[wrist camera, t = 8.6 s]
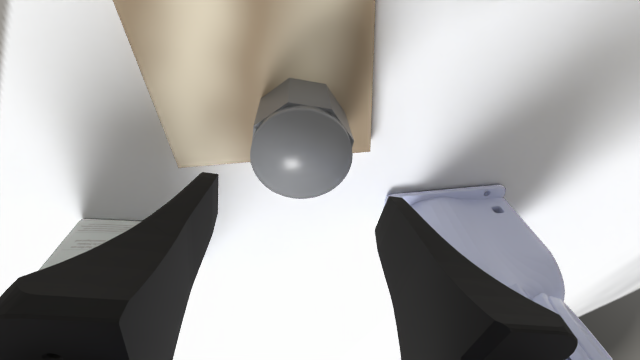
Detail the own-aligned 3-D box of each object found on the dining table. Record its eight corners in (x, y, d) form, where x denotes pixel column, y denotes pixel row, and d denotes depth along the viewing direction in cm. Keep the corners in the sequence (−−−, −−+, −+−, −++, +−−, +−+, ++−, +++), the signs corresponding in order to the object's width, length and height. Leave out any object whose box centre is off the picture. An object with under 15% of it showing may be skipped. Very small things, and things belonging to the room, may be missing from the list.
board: (372, -25, 16) (376, -25, 15) (367, 144, 22) (370, 151, 21) (120, -5, 16) (111, -4, 15) (183, 160, 22) (178, 167, 21)
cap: (357, 130, 20) (370, 167, 16) (292, 169, 22) (291, 212, 18) (311, 61, 17) (315, 88, 14) (241, 112, 19) (228, 148, 15)
